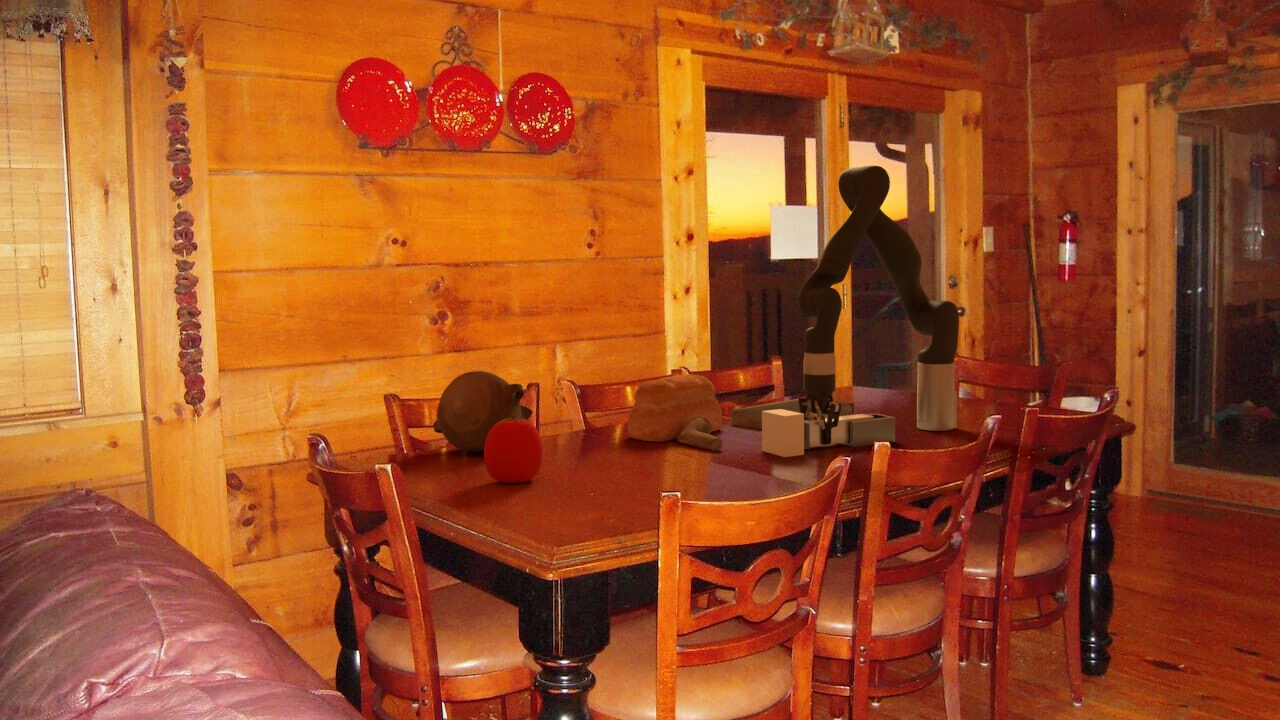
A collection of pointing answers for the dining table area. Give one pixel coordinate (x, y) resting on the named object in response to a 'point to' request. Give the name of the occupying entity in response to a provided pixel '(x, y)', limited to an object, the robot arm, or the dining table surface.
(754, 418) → the grey shallow rectangular piece
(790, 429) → the tan block
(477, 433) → the jug
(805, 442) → the beige rectangular block
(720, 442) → the pipe
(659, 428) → the bread
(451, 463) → the dining table surface
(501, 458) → the tomato
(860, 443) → the sleeve
